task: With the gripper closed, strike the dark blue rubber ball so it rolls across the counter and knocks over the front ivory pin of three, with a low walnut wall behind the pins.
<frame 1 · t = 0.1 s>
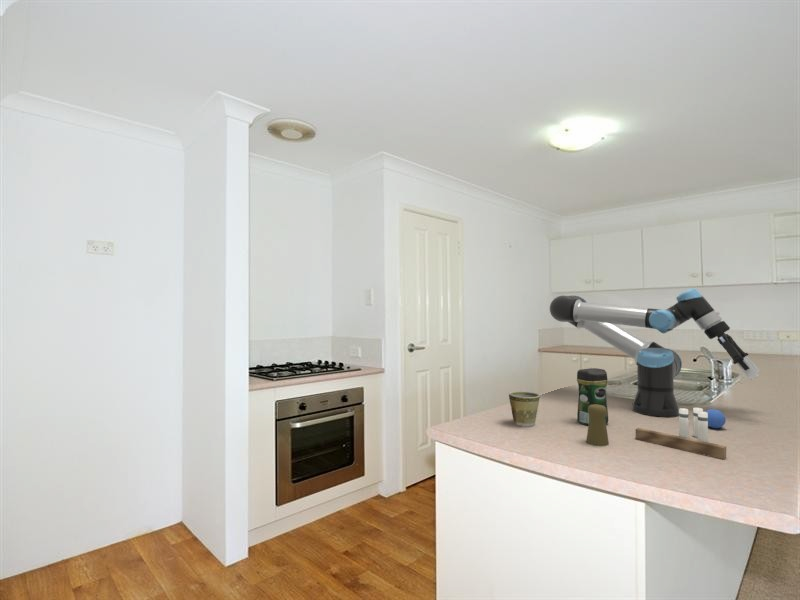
hand: (755, 375, 154), 15 cm above the countertop, tool tilted 35°, fingers open, 13 cm apart
pin back right: (702, 441, 128), on the countertop
olive tall tapered piece: (597, 443, 127), on the countertop
coffee jar: (592, 423, 148), on the countertop
ball: (714, 418, 142), on the countertop
pin back left: (683, 437, 132), on the countertop
pin front: (698, 436, 133), on the countertop
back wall: (678, 447, 123), on the countertop
ceramic cup: (525, 423, 148), on the countertop
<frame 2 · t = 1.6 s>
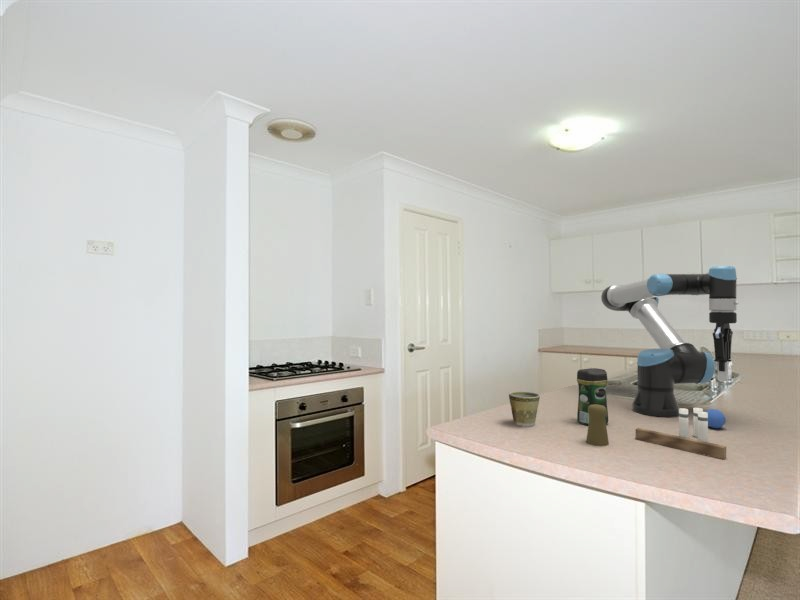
hand: (723, 380, 149), 14 cm above the countertop, tool pointing down, fingers closed
nothing on the countertop moved.
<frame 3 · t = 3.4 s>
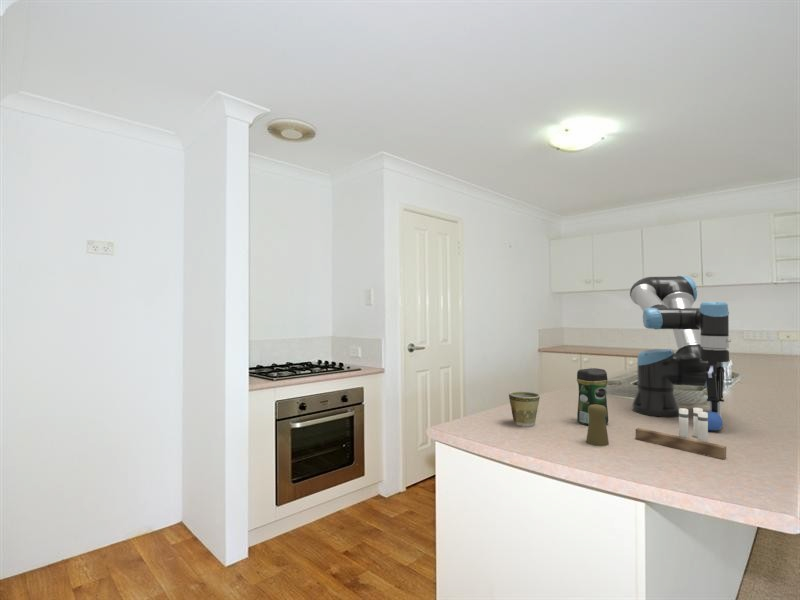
hand: (715, 421, 142), 2 cm above the countertop, tool pointing down, fingers closed
ball: (711, 421, 140), on the countertop
everything else where it was.
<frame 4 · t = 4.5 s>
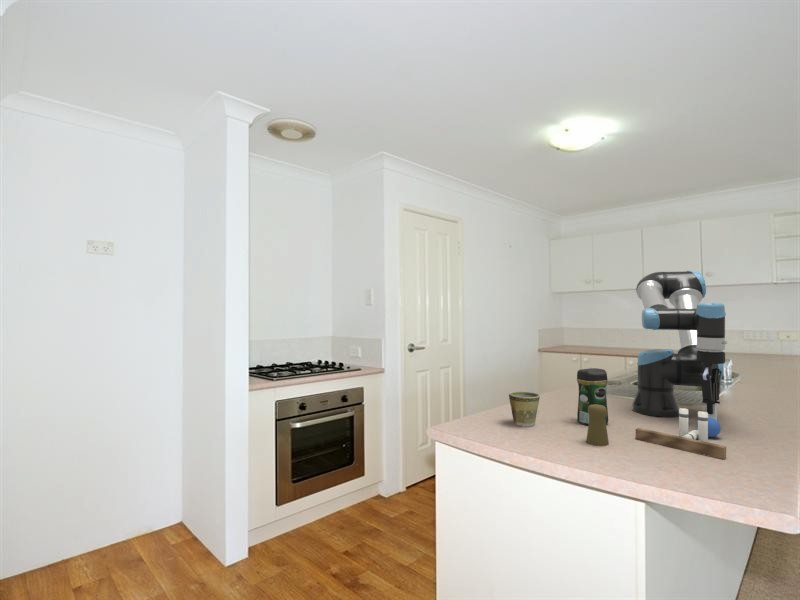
hand: (711, 423, 141), 2 cm above the countertop, tool pointing down, fingers closed
ball: (708, 426, 133), on the countertop
pin front: (696, 433, 132), point 1 cm above the countertop, tilted 90°
everything else where it was.
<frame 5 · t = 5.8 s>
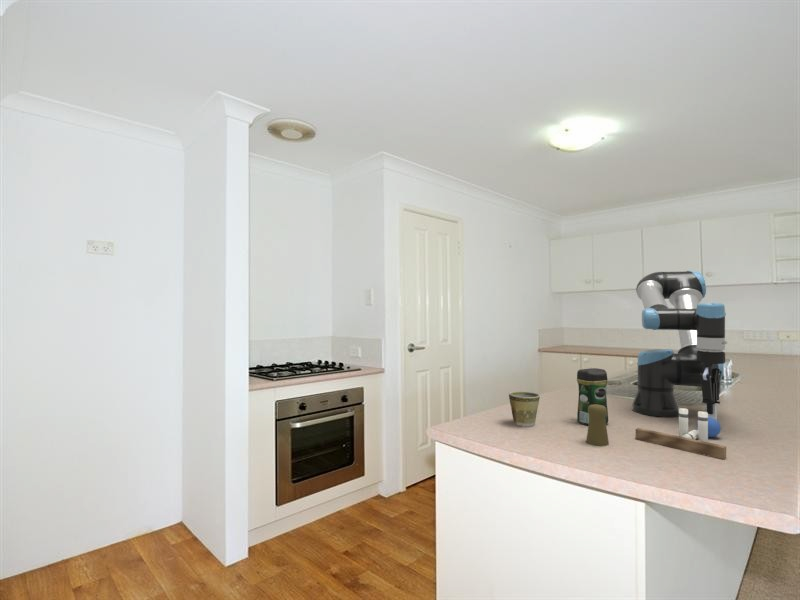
hand: (711, 423, 141), 2 cm above the countertop, tool pointing down, fingers closed
nothing on the countertop moved.
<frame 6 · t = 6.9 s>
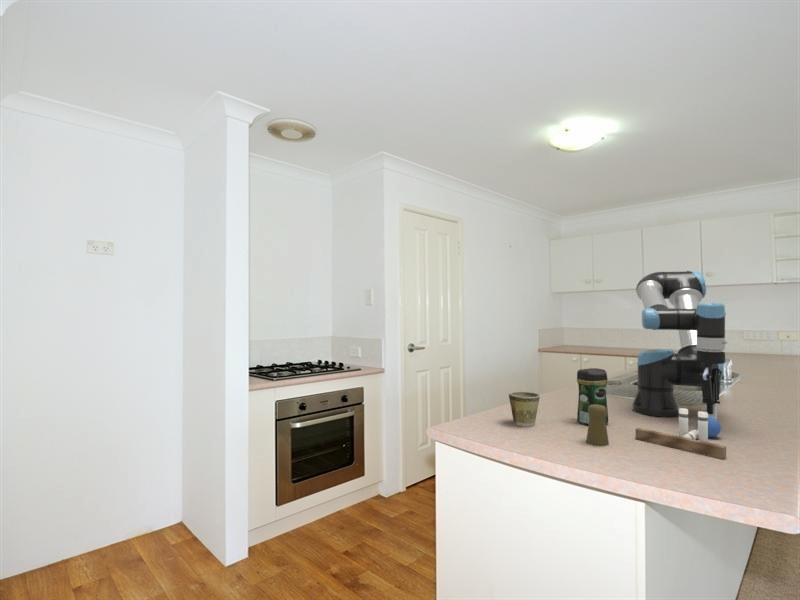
hand: (711, 423, 141), 2 cm above the countertop, tool pointing down, fingers closed
nothing on the countertop moved.
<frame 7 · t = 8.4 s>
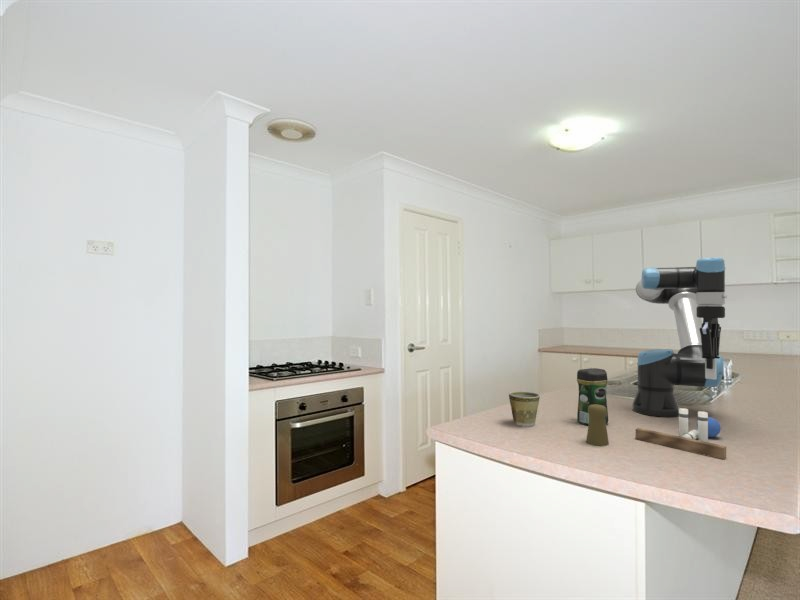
hand: (710, 378, 141), 16 cm above the countertop, tool pointing down, fingers closed
nothing on the countertop moved.
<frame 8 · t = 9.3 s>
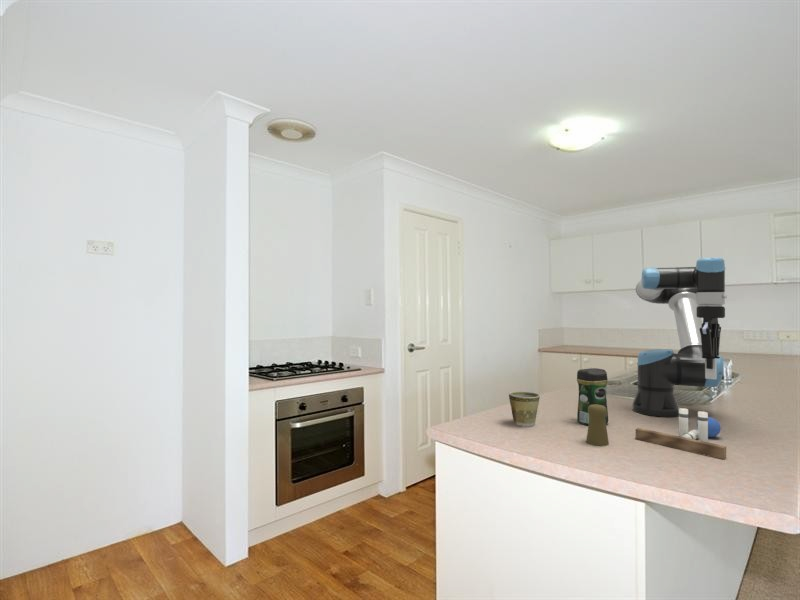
hand: (710, 378, 141), 16 cm above the countertop, tool pointing down, fingers closed
nothing on the countertop moved.
at the end: pin front tilted 90°; pin front never touched the robot; ball moved 12.8 cm from its start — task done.
